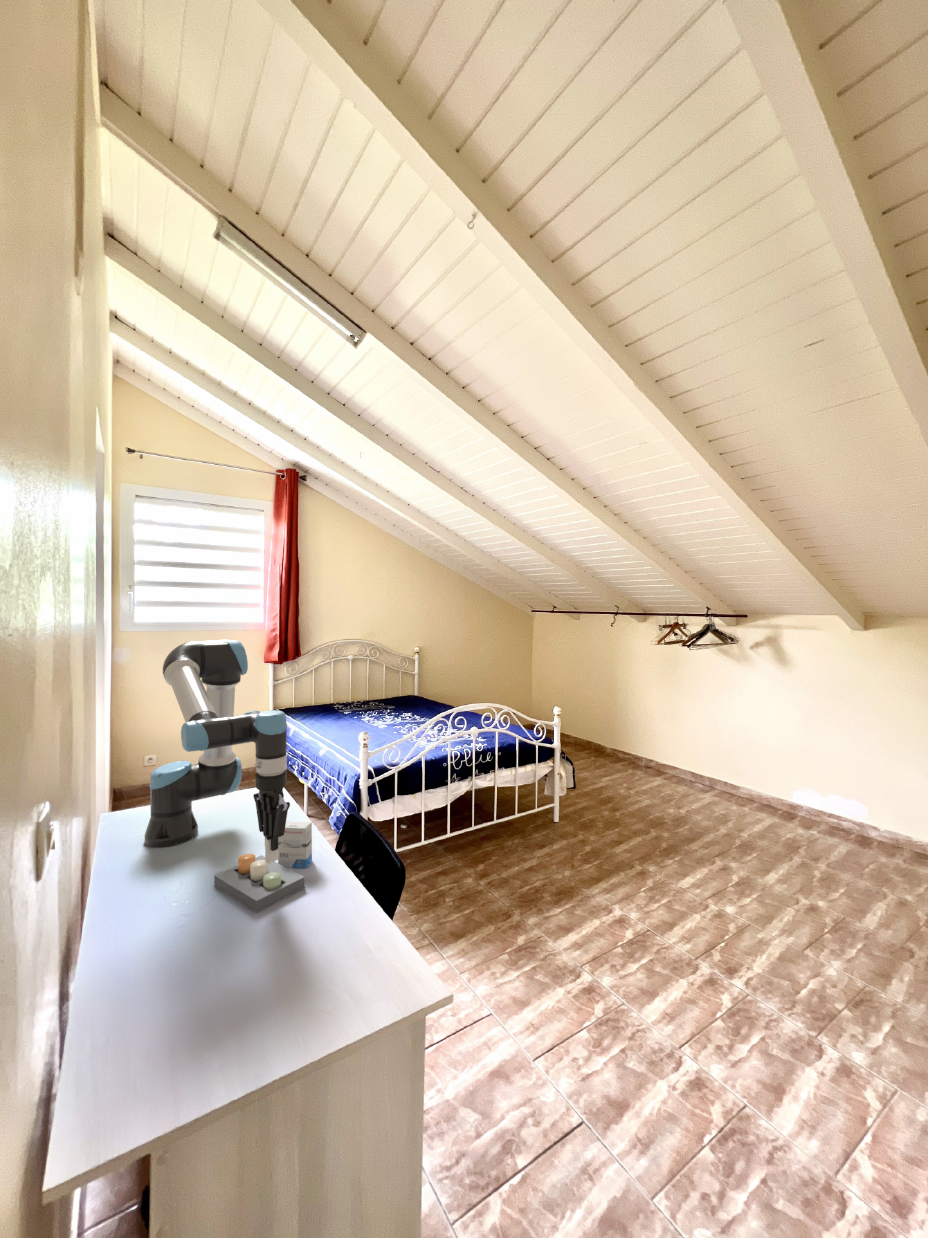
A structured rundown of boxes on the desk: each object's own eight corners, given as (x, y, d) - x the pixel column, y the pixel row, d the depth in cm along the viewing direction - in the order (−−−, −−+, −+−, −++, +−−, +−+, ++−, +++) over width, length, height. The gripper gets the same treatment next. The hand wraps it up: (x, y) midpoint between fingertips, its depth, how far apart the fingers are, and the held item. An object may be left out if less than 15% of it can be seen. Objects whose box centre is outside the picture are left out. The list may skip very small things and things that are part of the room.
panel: (214, 886, 140) (214, 875, 140) (261, 865, 151) (261, 855, 151) (256, 913, 128) (256, 901, 128) (304, 888, 139) (304, 877, 139)
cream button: (247, 879, 139) (246, 865, 139) (262, 872, 143) (261, 858, 143) (256, 885, 137) (256, 870, 137) (271, 878, 140) (271, 863, 140)
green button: (259, 892, 136) (259, 877, 136) (274, 885, 139) (274, 870, 139) (269, 898, 133) (269, 883, 133) (284, 890, 137) (284, 875, 136)
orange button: (234, 872, 143) (234, 858, 143) (249, 866, 146) (249, 852, 146) (243, 877, 140) (243, 863, 140) (258, 871, 144) (258, 856, 144)
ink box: (312, 860, 154) (312, 821, 154) (306, 869, 149) (305, 828, 149) (285, 859, 155) (284, 820, 155) (277, 867, 150) (277, 827, 150)
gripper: (243, 770, 136) (244, 859, 137) (273, 781, 128) (273, 875, 129) (269, 763, 142) (270, 848, 143) (299, 773, 134) (299, 863, 135)
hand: (271, 860), depth 136 cm, fingers closed
